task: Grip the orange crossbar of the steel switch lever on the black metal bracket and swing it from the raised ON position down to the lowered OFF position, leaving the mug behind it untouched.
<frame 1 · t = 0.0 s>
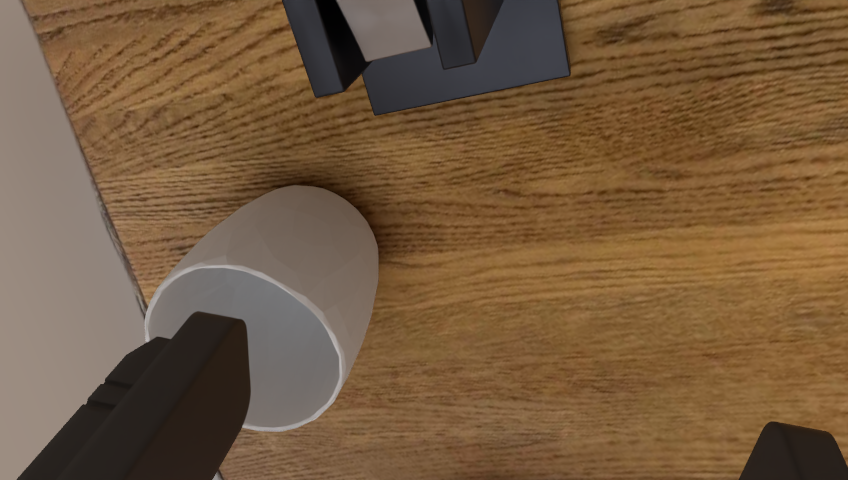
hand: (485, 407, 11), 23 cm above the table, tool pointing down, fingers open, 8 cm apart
mug: (307, 261, 38), on the table
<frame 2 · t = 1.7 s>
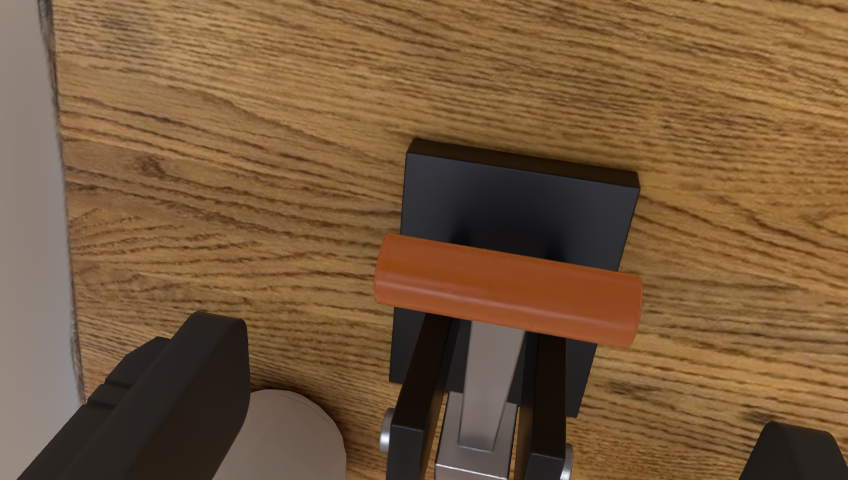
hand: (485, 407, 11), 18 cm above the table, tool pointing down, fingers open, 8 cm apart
switch: (485, 392, 18), point 12 cm above the table, hinge at 25.0°
mug: (269, 442, 39), on the table
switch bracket: (502, 278, 30), on the table
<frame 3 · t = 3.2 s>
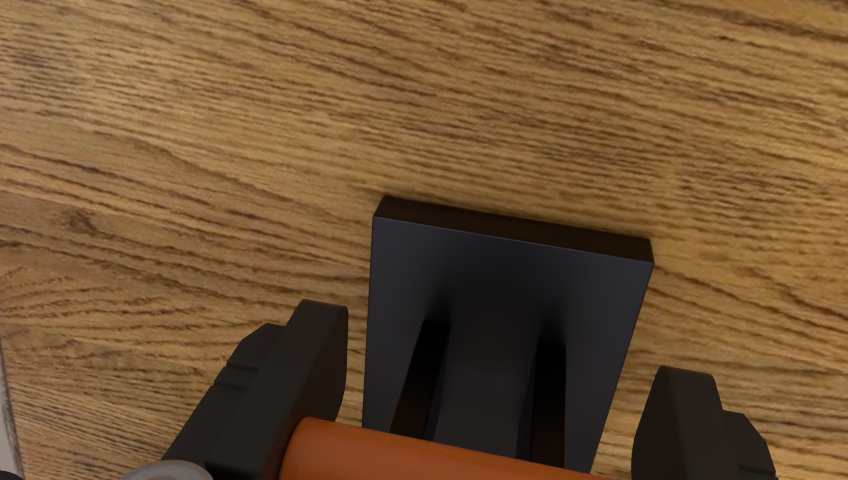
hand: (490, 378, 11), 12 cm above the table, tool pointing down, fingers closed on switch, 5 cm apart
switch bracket: (489, 354, 26), on the table
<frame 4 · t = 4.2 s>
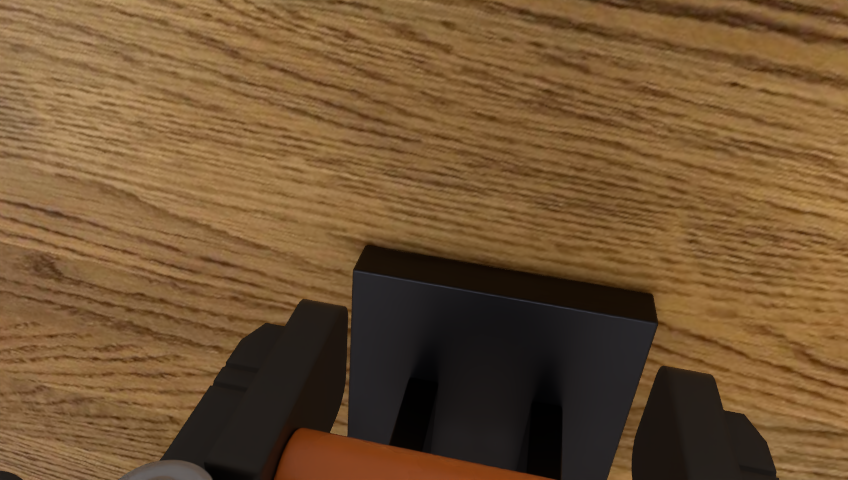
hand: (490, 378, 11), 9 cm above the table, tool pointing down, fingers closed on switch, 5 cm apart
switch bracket: (481, 408, 24), on the table
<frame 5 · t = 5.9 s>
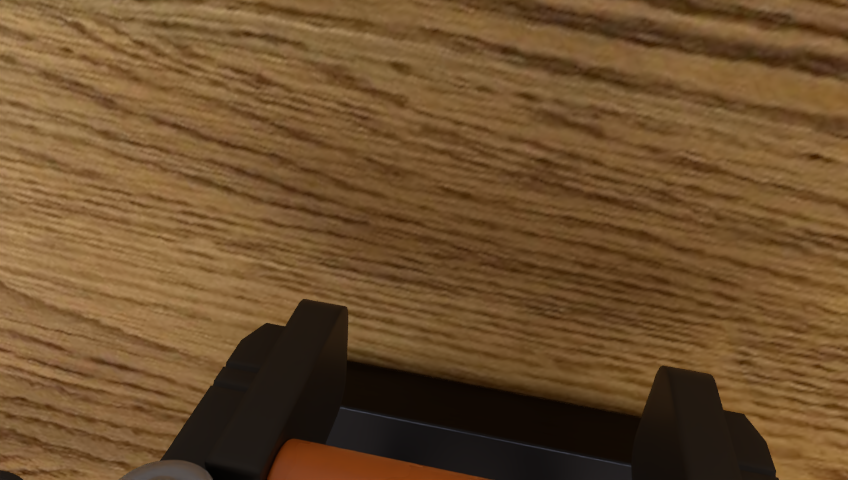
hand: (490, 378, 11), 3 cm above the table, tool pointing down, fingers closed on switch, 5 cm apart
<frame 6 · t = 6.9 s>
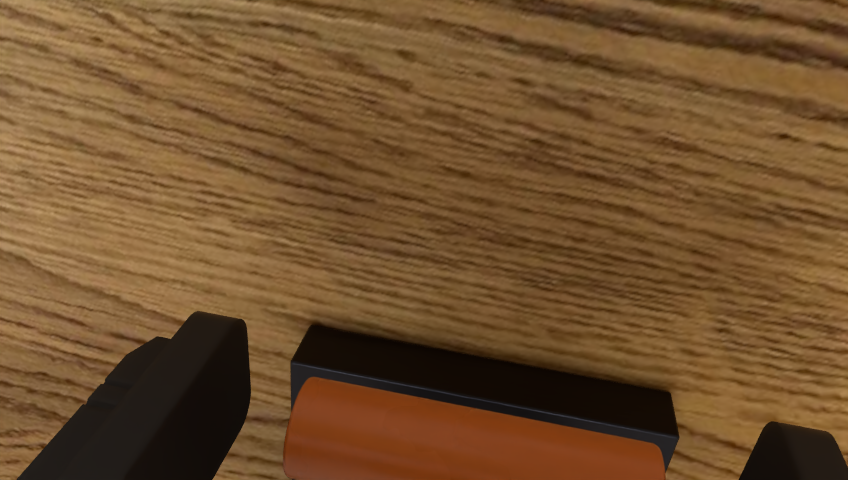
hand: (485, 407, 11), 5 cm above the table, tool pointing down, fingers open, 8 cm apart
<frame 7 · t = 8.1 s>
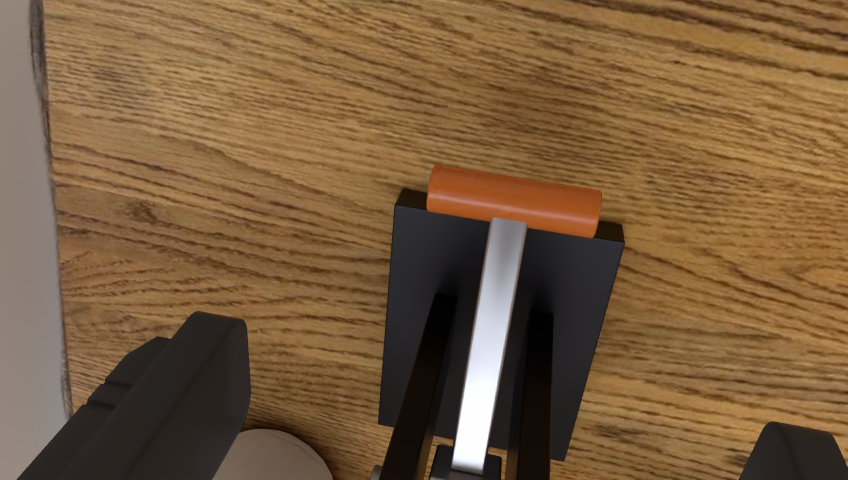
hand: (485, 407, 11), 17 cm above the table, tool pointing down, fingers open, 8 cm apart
switch: (483, 369, 21), point 8 cm above the table, hinge at -21.1°
mug: (259, 479, 39), on the table
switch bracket: (489, 324, 30), on the table
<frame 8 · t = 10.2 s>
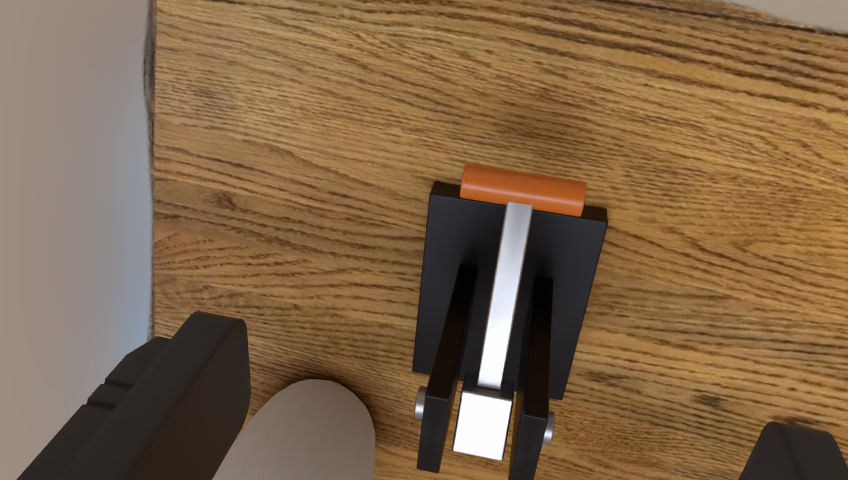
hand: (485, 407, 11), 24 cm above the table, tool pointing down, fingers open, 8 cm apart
switch: (501, 313, 29), point 8 cm above the table, hinge at -21.1°
mug: (309, 423, 47), on the table
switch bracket: (502, 289, 38), on the table
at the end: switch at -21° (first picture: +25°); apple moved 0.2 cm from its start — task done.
